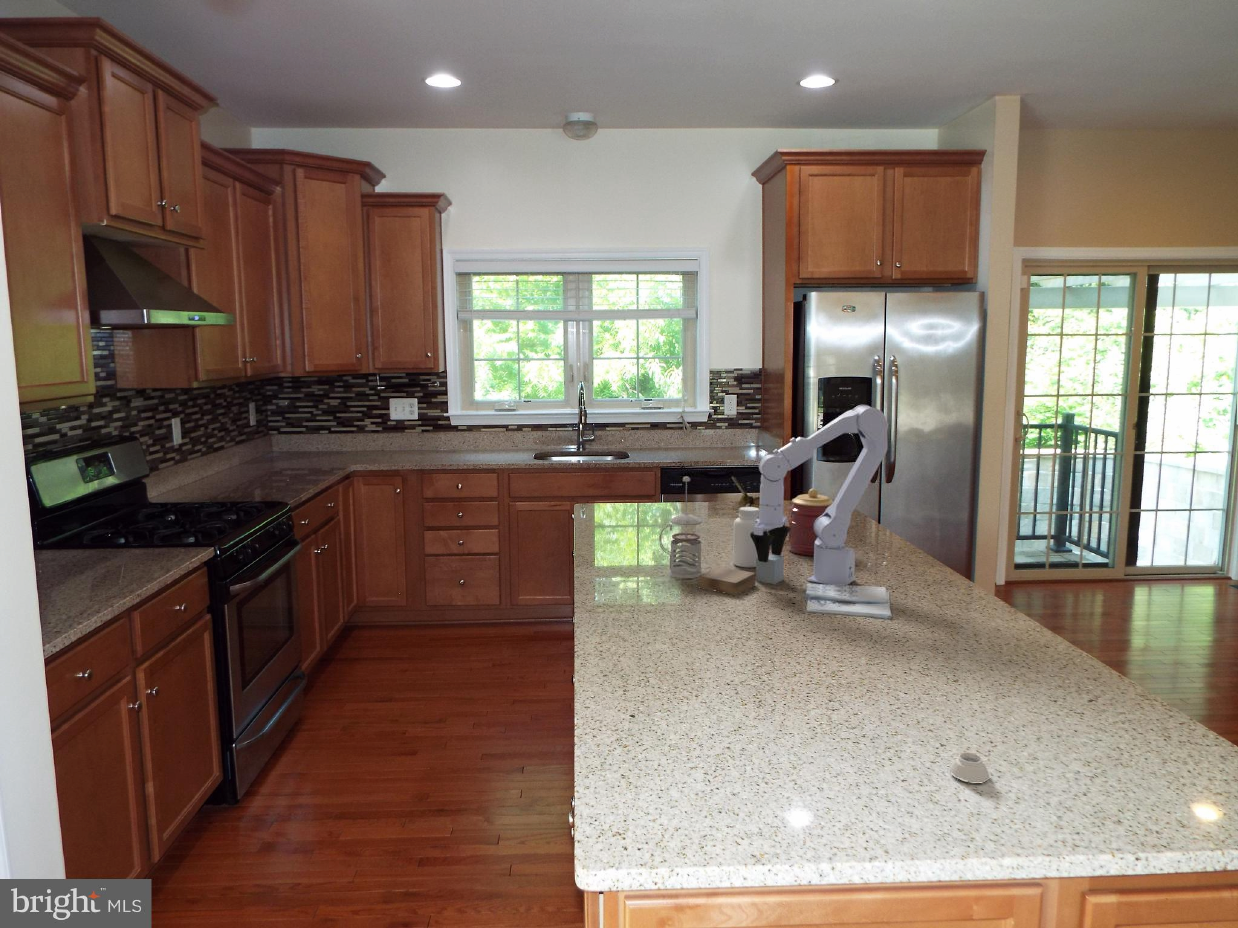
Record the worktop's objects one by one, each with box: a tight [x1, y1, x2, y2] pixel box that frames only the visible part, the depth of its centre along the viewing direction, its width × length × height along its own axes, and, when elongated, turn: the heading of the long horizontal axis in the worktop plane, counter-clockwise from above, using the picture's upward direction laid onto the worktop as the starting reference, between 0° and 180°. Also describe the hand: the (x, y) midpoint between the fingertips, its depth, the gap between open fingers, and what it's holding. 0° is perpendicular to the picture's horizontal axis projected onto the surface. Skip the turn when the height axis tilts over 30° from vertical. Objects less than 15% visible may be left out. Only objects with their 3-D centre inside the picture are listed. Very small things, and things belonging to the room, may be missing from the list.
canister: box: [787, 488, 834, 557], centre depth 240 cm, size 13×13×18 cm
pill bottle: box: [732, 506, 759, 568], centre depth 226 cm, size 8×8×15 cm
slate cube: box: [755, 553, 785, 585], centre depth 212 cm, size 5×5×6 cm
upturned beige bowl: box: [949, 751, 990, 782], centre depth 119 cm, size 5×3×5 cm
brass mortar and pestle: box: [731, 475, 769, 535], centre depth 259 cm, size 9×14×18 cm, turn 91°
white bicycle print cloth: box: [804, 583, 893, 620], centre depth 195 cm, size 19×20×2 cm
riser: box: [698, 566, 756, 596], centre depth 207 cm, size 10×10×3 cm
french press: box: [658, 476, 705, 579], centre depth 217 cm, size 10×12×25 cm
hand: (769, 558), depth 212 cm, fingers open, 7 cm apart
